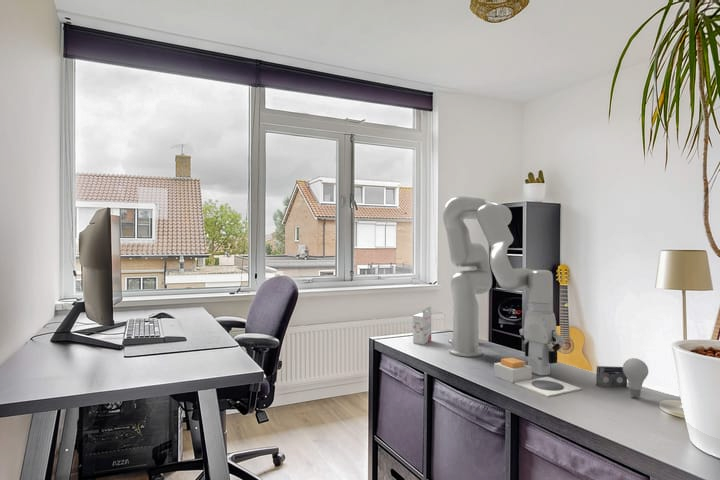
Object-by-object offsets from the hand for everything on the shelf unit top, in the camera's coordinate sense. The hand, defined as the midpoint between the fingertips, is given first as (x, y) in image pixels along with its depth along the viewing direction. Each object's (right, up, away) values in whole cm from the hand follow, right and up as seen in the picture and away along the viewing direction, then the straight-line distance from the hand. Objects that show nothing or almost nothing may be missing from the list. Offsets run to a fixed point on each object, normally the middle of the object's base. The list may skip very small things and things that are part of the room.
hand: (540, 359), depth 148 cm
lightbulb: (+18, -5, -22) cm, 29 cm away
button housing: (-11, -4, -5) cm, 13 cm away
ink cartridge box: (-33, -4, +42) cm, 54 cm away
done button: (-11, -2, -5) cm, 12 cm away
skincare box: (0, -5, 0) cm, 5 cm away
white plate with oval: (-3, -5, -13) cm, 15 cm away
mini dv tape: (+16, -5, -13) cm, 21 cm away
